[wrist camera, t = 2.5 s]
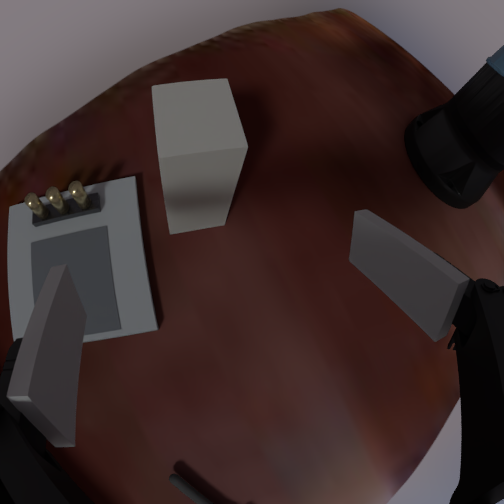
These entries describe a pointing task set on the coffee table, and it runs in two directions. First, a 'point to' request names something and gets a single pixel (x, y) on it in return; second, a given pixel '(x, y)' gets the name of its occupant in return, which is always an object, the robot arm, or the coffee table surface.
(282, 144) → the coffee table surface
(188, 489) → the walkie-talkie
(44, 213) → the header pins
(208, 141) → the plug block
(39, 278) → the board
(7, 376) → the robot arm
